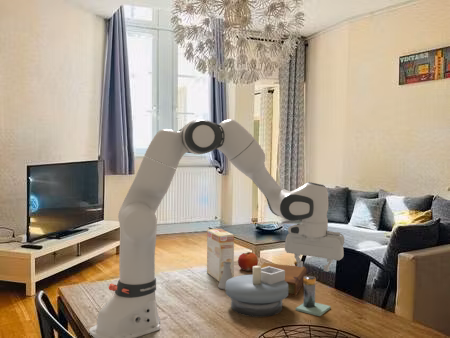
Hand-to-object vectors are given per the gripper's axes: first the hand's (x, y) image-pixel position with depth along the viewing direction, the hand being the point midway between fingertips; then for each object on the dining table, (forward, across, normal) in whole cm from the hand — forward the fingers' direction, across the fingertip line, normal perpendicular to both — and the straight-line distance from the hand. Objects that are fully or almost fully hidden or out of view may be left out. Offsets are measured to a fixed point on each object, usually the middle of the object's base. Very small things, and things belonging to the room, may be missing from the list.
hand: (313, 268), depth 153 cm
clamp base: (+15, +18, +7) cm, 24 cm away
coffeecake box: (+15, +47, -17) cm, 52 cm away
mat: (+14, 0, 0) cm, 14 cm away
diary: (+15, +20, -20) cm, 32 cm away
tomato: (+15, +41, -33) cm, 54 cm away
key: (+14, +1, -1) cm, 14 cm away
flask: (+15, +37, -6) cm, 41 cm away
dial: (+9, +18, +7) cm, 21 cm away
